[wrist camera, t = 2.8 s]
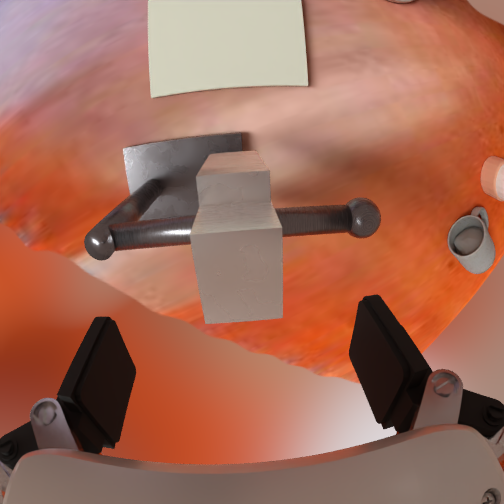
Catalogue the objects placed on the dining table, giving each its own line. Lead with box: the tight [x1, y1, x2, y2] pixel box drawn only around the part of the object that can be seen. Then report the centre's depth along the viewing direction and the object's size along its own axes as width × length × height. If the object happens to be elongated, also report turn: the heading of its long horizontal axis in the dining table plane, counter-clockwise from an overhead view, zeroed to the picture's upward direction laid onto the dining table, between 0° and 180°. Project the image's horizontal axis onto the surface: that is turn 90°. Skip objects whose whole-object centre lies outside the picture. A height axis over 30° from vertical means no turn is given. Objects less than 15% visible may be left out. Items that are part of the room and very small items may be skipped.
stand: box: [84, 132, 381, 260], centre depth 26 cm, size 24×11×18 cm, turn 93°
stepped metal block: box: [190, 150, 283, 324], centre depth 20 cm, size 4×8×14 cm, turn 3°
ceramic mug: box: [448, 207, 495, 274], centre depth 36 cm, size 11×8×8 cm
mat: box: [148, 0, 308, 98], centre depth 25 cm, size 18×18×1 cm
